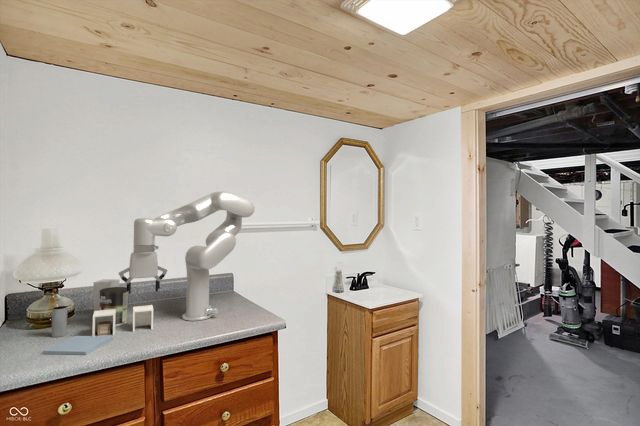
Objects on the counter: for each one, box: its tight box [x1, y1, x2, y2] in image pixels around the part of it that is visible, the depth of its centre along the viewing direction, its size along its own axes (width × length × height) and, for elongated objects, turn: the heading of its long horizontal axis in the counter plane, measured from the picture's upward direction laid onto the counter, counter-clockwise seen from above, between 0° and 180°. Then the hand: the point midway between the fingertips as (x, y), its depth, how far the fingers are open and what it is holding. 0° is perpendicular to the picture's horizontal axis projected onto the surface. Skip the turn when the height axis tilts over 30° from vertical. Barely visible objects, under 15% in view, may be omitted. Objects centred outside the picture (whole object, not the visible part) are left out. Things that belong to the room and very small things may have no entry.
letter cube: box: [97, 321, 112, 336], centre depth 131 cm, size 4×4×4 cm
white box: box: [91, 309, 116, 336], centre depth 131 cm, size 7×7×8 cm
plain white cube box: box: [132, 304, 154, 333], centre depth 138 cm, size 7×7×8 cm
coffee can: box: [99, 286, 129, 327], centre depth 143 cm, size 10×10×14 cm
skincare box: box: [93, 278, 121, 312], centre depth 154 cm, size 8×7×16 cm
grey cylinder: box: [51, 305, 68, 338], centre depth 128 cm, size 4×4×10 cm
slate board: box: [42, 335, 114, 356], centre depth 118 cm, size 14×14×1 cm
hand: (143, 292), depth 138 cm, fingers open, 9 cm apart
